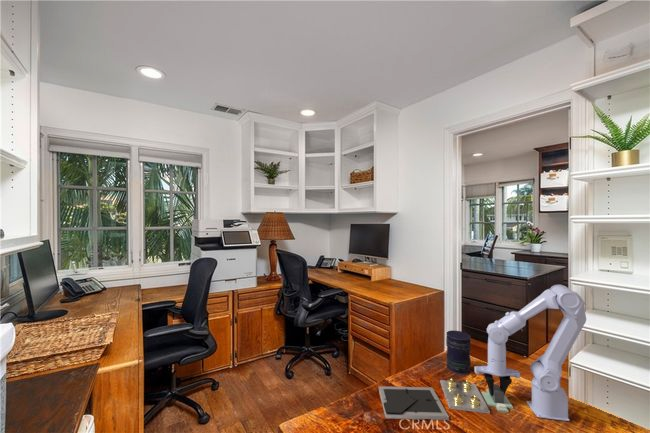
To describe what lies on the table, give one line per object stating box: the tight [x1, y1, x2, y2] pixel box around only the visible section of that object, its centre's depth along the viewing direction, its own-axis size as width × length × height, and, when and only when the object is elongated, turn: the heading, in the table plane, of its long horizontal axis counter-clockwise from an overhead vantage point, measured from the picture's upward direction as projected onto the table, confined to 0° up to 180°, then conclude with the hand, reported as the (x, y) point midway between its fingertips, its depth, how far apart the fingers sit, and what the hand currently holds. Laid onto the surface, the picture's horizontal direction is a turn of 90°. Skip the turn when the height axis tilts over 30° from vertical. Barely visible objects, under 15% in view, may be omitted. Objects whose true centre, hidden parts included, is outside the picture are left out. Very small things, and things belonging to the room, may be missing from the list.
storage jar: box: [445, 330, 472, 375], centre depth 126 cm, size 10×10×15 cm
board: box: [480, 383, 514, 413], centre depth 104 cm, size 8×12×5 cm, turn 168°
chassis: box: [439, 377, 491, 414], centre depth 106 cm, size 13×16×4 cm
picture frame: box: [378, 385, 450, 421], centre depth 102 cm, size 16×3×21 cm
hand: (496, 394), depth 104 cm, fingers closed on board, 3 cm apart
